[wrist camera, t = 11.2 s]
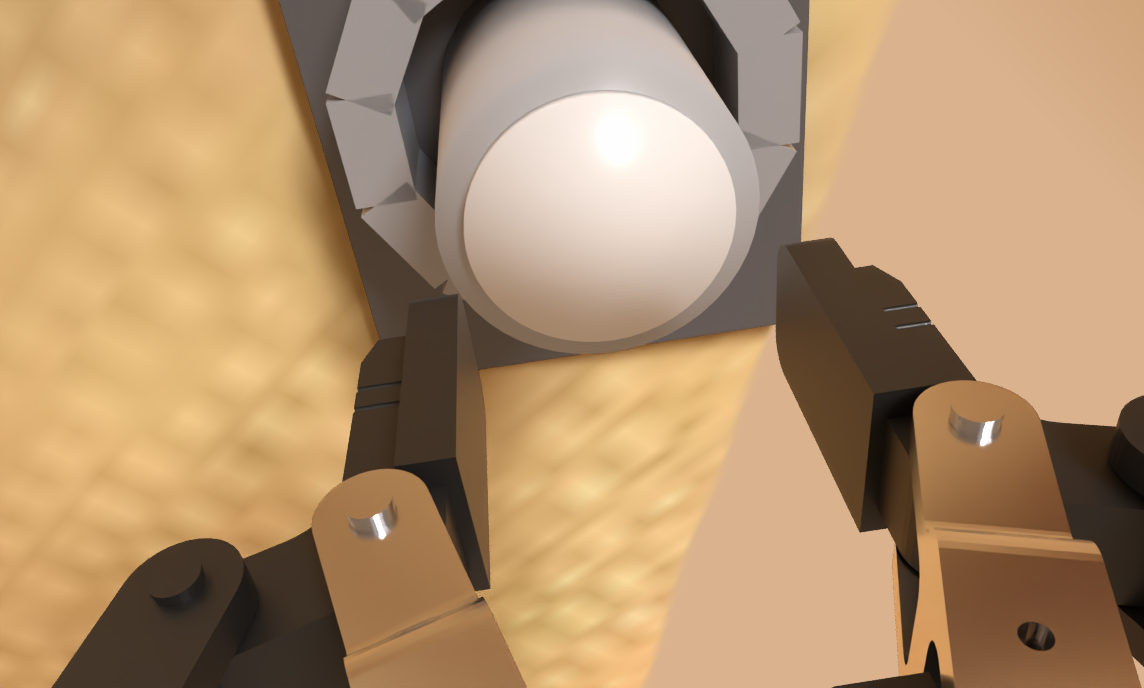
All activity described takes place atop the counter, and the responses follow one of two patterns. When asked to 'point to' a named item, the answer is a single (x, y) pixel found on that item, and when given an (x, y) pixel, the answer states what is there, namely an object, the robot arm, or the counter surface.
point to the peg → (587, 174)
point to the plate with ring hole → (411, 137)
